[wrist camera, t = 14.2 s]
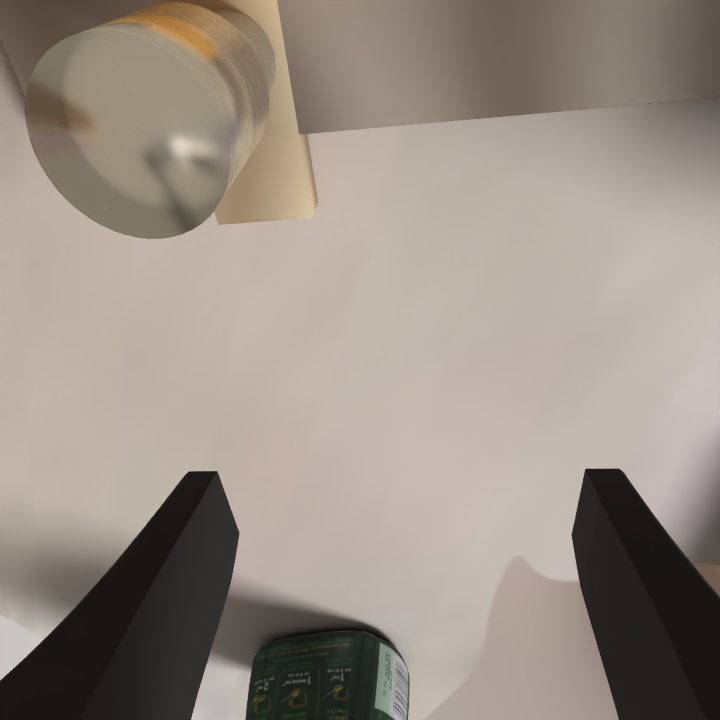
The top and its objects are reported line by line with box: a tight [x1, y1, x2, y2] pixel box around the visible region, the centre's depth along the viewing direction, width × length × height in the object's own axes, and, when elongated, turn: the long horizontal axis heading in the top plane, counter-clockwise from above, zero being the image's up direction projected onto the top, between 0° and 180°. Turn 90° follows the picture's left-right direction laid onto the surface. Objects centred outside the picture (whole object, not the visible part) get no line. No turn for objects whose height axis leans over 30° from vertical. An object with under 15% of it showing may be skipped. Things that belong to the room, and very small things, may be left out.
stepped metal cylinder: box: [25, 2, 276, 239], centre depth 13 cm, size 3×3×7 cm
